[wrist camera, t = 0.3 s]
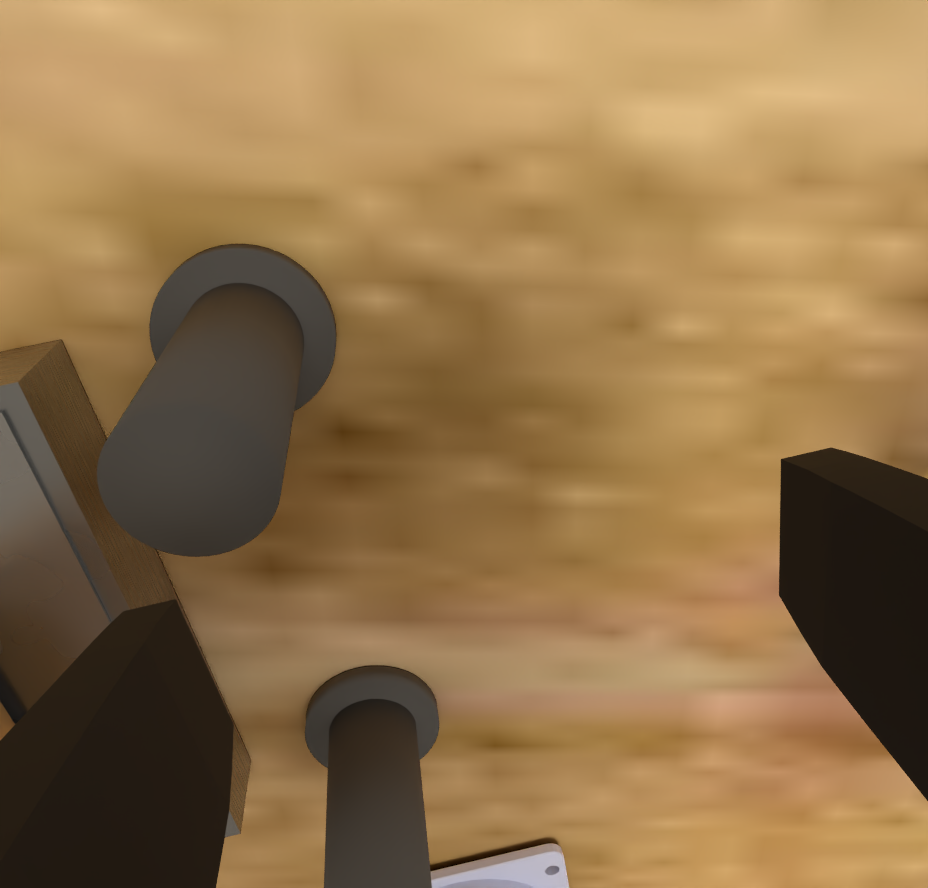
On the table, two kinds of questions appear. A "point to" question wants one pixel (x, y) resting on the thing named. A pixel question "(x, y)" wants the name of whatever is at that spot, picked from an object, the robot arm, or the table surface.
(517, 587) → the table surface
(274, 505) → the cord post
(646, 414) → the table surface
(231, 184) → the table surface
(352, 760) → the post
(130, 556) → the panel
